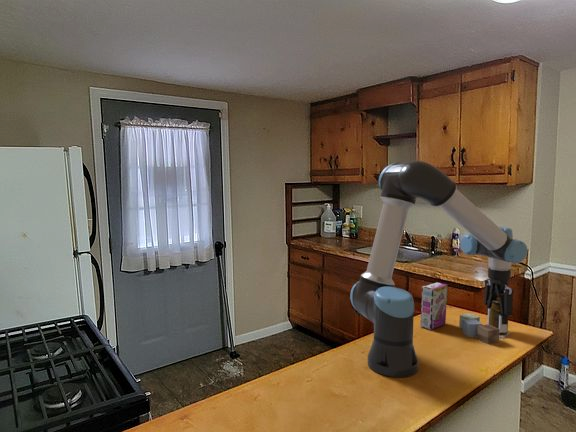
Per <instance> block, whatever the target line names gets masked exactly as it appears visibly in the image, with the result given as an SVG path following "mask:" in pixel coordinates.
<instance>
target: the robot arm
mask: <svg viewBox="0 0 576 432" xmlns="http://www.w3.org/2000/svg"><path fill="white" fill-rule="evenodd" d="M378 187H379V188H380V191H381V193H380V196H379V198H380V200H381V202H382V208H381V211H380V216H379V218H378V219H379V220H378V223H377V228H376V231H375V236H374V239H373V243H372V246H371V247H372V249H371V250H370V256H369V259H368V263H367V267H366V271H364V272H363V273H361V274H360V277H359V280H358V281H357V282H356V283H354V284H353V285H352V288H351V290H350V295H349V296H350V297H349V298H350V302H351V305H352V307H353V308H354V309H355V311H357V313H358V314H359V315H361V316H363V317H365V318H366V319H367V320H369V321H370V322H371V323H373V340H372V343H371V346H370V348H369V351H368V354H367V365H368V367H369V368H370V369H371V370H372V371H373V372H375V373H378V374H379V375H383V376H386V377H391V378H406V377H410V376H413V375H416V373H418V371H419V359H418V357H417V356H418V355H417V353H416V349H415V345H414V317H415V315H414V314H415V302H414V298H413V296H412V294H411V293H410V292H409V291H407V290H405V289H403V288H397V287H396V286H395V284H396V283H395V282H394V280H393V279H392V278H393V272H394V271H395V270H394V269H395V266H396V262H397V259H398V258H397V257H398V253H399V250H400V246H401V245H400V244H401V242H402V238H403V233H404V229H405V226H406V221H407V218H408V213H409V210H410V209H412V208H413V207H415V205H416V201H417V199H421V200H423V201H424V202H425V201H426V202H428V203H429V204H430V205H431V206H432V207H433V208H437V207H438V208H440V210H442V212H444V213H445V214H446V215H448V216H449V217H450V218H451V219H452V220H453V221H455V223H457V224H458V225H459V226H460V227H461V228H463V229H464V230H465V231H466V232H467V233H468V234H464V235H463V236H462V237H461V239H460V244H459V245H460V249H461V251H462V253H463V254H465V255H467V256H475V255H478V256H482V257H487V258H488V264H487V267H488V269H487V278H488V279H489V280H488V279H487V280H484V286H485V288H484V299H483V304H484V305H485V306H486V308H487V324H489V325H490V309H491V307H492V301H493V300H499V304H500V310H501V314H499V329H500V332H507V324H508V325H509V316H513V314H514V305H513V303H514V299H513V298H514V292H515V289H514V288H511V287H509V284H508V282H509V281H510V280H511V277H512V276H511V275H512V270H511V269H512V264H520V263H521V262H523V261H525V259H526V257H528V247H527V244H526V243H525V242H524V241H522V240H519V239H516V238H515V239H514V238H513V237H514V235H513V229H512V228H510V227H507V226H504V227H503V226H498V225H497V224H496V223H495V222H494V221H493V220H492V219H490V218H489V217H488V216H487V215H486V214H485V213H484V212H483V211H481V209H479V208H478V207H477V206H476V205H475V204H474V203H473V202H471V201H470V199H468V198H467V197H466V196H465V195H463V193H461V192H460V191H459V189H457V188H458V187H457V183H456V182H455V181H454V180H452V179H451V178H450V177H449V176H448V175H446V173H444V172H443V171H442V170H440V169H439V168H437V167H436V166H434V165H433V164H431V163H429V162H428V161H427V162H426V161H422V160H413V161H405V162H404V161H397V162H394V163H391V164H388V165H387V166H385V167H384V169H383V170H382V171H381V173H380V174H379V176H378ZM487 324H486V325H487Z"/></svg>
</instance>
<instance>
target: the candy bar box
mask: <svg viewBox="0 0 576 432" xmlns="http://www.w3.org/2000/svg"><path fill="white" fill-rule="evenodd" d="M421 288H422V289H421V303H420V304H421V306H420V311H421V312H420V327H419V328H423V329H424V330H425V329H426V330H428V331H432V330H435V329H436V328H439V327H442V326H444V325H446V320H447V319H446V318H447V298H448V284H447V283H442V282H434V283H430V284H427V285H422V286H421Z"/></svg>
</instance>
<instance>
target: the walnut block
mask: <svg viewBox="0 0 576 432" xmlns="http://www.w3.org/2000/svg"><path fill="white" fill-rule="evenodd" d="M499 335H500V329H498V328H496V327H494V326H491V325H489V324H482V325H479V326H477V337H476V339H477V340H478V341H481V342H482V343H484V344H486V345H492V344H498V343H499V344H500V337H499Z"/></svg>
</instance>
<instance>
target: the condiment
mask: <svg viewBox="0 0 576 432" xmlns="http://www.w3.org/2000/svg"><path fill="white" fill-rule="evenodd" d="M499 314H501V310H500V304H499V299H497V300H493V301H492V307H491V309H490V325H491V326H494V327H496V328H498V329H499ZM510 334H512V331H509V323H508V324H507V332H500V335H499V338H501V339H505V338H506V337H507V336H509V335H510Z"/></svg>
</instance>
